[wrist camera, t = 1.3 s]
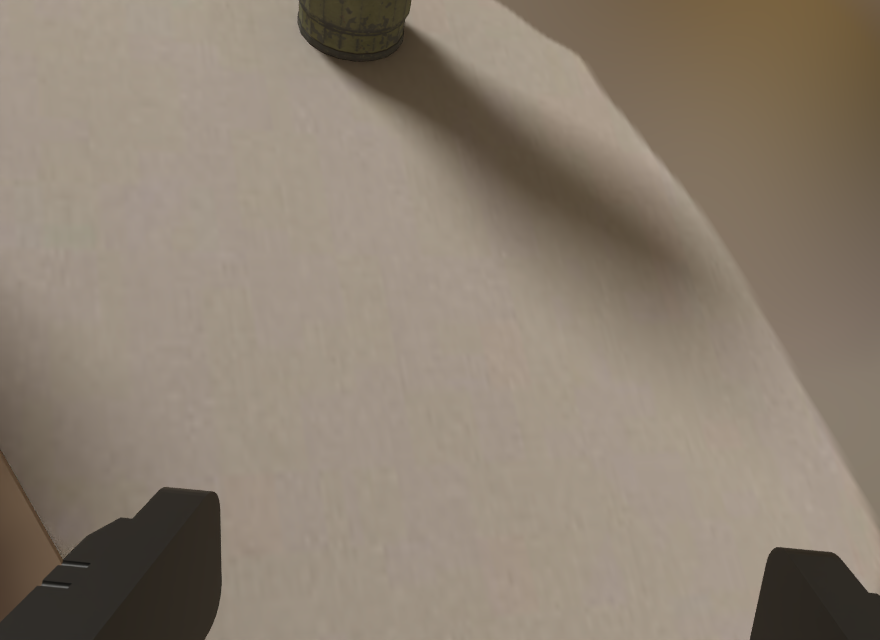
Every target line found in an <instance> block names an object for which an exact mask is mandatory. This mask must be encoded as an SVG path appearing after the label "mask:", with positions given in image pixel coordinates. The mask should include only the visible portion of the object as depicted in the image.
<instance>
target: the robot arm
mask: <svg viewBox="0 0 880 640" xmlns="http://www.w3.org/2000/svg"><path fill="white" fill-rule="evenodd" d="M221 586H222V576H221V529H220V503H219V498H218V496H217V494H216V493H215V492H212V491H202V490H191V489H181V488H170V487H163V488H162V489H160V490H159V491H158V492H157V493H156V494H155V495H154V496H153V497H152V498H151V499H150V501H149V502H148V503H147V504H146V505H145V506H144V507H143V508H142V509H141V510H140V511H139V512H138V513H137V514H136V516H135V517H134V518H133V519H130V518H119V519H117V520H115V521H114V522H112V523H110V524H108V525H106V526H104V527H103V528H101V529H99V530H97V531H95V532H93V533H92V534H90V535H88V536H86V537H85V538H84V539H83V540H82V541H81V542H80V543H79V544H78V545H77V546H76V547H75V548H74V549H73V550H72V551H71V552H70V553H69V554H68V555H67V556H66V557H65V558H64V559H63V562H62V565H57V566H56V567H55V568H54V569H53V570H52V571H51V572H50V573H49V574H48V575H47V576H46V577H45V578H44V579H43V580H42V585H41V586H36V587H35V588H34V589H33V590H32V591H31V592H30V593H29V594H28V595H27V596H26V597H25V598H24V599H23V600H22V601H21V602H20V603H19V604H18V605H17V606H16V607H15V608H14V609H13V610H12V611H11V612H10V613H9V614H8V615H7V616H6V617H5V618H4V619H3V620H2V621H1V622H0V640H205V638H206V636H207V634H208V633H209V631H210V629H211V627H212V625H213V622H214V619H215V617H216V613H217V610H218V606H219V601H220V595H221ZM750 640H880V596H879V595H878V594H875V593H868V592H867V590H866V589H865V588H864V587H863V585H862V584H861V583H860V582H859V581H858V579H857V578H856V577H855V576H854V574H853V573H852V572H851V571H850V570H849V568H848V567H847V566H846V565H845V563H844V562H843V561H842V560H841V559H840V558H839V557H838V556H837V555H836V554H834V553H832V552H824V551H813V550H803V549H792V548H782V547H776V548H774V549H773V550H772V551H771V553H770V554H769V557H768V559H767V563H766V567H765V572H764V576H763V581H762V585H761V590H760V595H759V599H758V604H757V609H756V613H755V618H754V622H753V627H752V632H751V636H750Z"/></svg>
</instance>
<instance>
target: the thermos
mask: <svg viewBox="0 0 880 640" xmlns="http://www.w3.org/2000/svg"><path fill="white" fill-rule="evenodd" d="M410 6H411V0H299V12H298V26H299V29H300V32H301V34H302V35H303V36H304V38H305V39H306V40H307V41H308V42H309V44H311V45H312V46H314V47H315V48H317V49H318V50H320V51H321V52H323V53H326V54H328V55H331V56H334V57H336V58H340V59H345V60H351V61H373V60H376V59H380V58H384V57H387V56H388V55H390V54H391V53H393V52H395V51H396V50H397V49H398V47H399V46H400V44H401V43H402V41H403V35H404V23H405V19H406V17H407V16H408V14H409V11H410Z"/></svg>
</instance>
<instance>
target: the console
mask: <svg viewBox="0 0 880 640" xmlns="http://www.w3.org/2000/svg"><path fill="white" fill-rule="evenodd" d="M62 562H63V559H62V558H61V556H60V554H59V552H58V551H57V549H56V547H55V545H54V543H53V542H52V540H51V538H50V536H49V535H48V533H47V531H46V529H45V528H44V526H43V524H42V522H41V520H40V519H39V517H38V515H37V513H36V512H35V510H34V508H33V506H32V505H31V503H30V501H29V499H28V498H27V496H26V494H25V492H24V490H23V489H22V487H21V485H20V483H19V482H18V480H17V478H16V476H15V475H14V473H13V471H12V469H11V467H10V466H9V464H8V462H7V460H6V459H5V457H4V455H3V453H2V452H1V450H0V622H1V621H2V620H3V619H4V618H5V617H6V616H7V615H8V614H9V613H10V612H11V611H12V610H13V609H14V608H15V607H16V606H17V605H18V604H19V603H20V602H21V601H22V600H23V599H24V598H25V597H26V596H27V595H28V594H29V593H30V592H31V591H32V590H33V589H34V588H35V587H36V586H41V585H42V580H43V579H44V578H45V577H46V576H47V575H48V574H49V573H50V572H51V571H52V570H53V569H54V568H55V567H56V566H57V565H62Z"/></svg>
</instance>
